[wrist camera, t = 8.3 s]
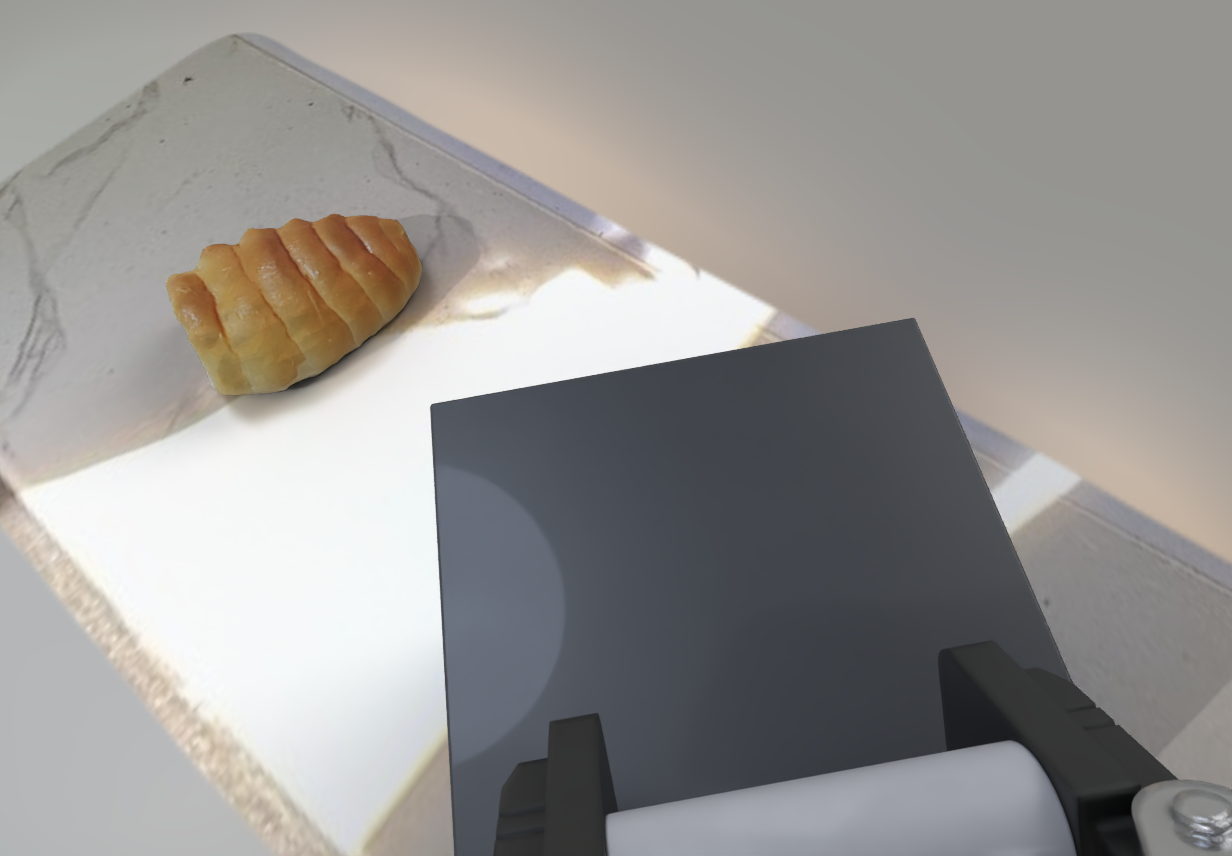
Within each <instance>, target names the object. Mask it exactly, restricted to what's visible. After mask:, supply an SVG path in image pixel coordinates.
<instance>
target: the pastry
mask: <svg viewBox="0 0 1232 856" xmlns="http://www.w3.org/2000/svg"><path fill="white" fill-rule="evenodd" d="M421 273H422V264H421V261H420V259H419V257H418V255H417V252H416V250H415V248H414V246H413V245H412V244H411V242H410V241H409V239H408V236H407V234H406V232H405V230H404V228H403V227H402V225H401V224H400V223H399V222H398V221H397V220H392V219H382V218H378V217H376V216H350V217H344V216H341V215H339V214H331V215H329V216H327V217H325V218H323V219H321V220H319V221H316V222H308V221H304V220H301V219H296V218H295V219H292V220H291V221H289V222H288V223H287V224H285V225H284V226H282V227H281V228H279V229H274V228H267V229H254V228H252V229H248V230H247V231H246V232H245V233H244V235H243V236H242V238H241V240H240V242H239V244H237V245H227V244H214V245H210V246H208V247H206V248H205V249H203V251H202V253H201V256H200V259H199V262H198V264H197V266H196V268H195V269H194V270H193V271H189V272H185V273H182V274H174V275H171V276H170V277H169V278H168V280H167V282H166V288H167V290H168V295H169V299H170V302H171V304H172V307H173V311H174V314H175V316H176V318H177V320H178V321H179V323H180V324H181V325H182V326H183V327H184V328H185V330H186V331H187V336H188V340H189V341H190V343H191V344H192V345H193V347H194V348H195V350H196V352H197V354H198V356H199V358H200V360H201V362H202V364H203V366H204V368H205V371H206V372H207V373H208V374H207V377H208V379H209V381H210V382H211V386H212V388H213V389H214V390H215V391H217V392H218V393H220V394H223V395H245V394H261V393H274V392H280V391H284V390H287V388H288V387H289V386H291V385H293V384H294V383H296V382H298V381H300V380H303V379H305V378H308V377H315V376H317V375H318V374H320V373H321V372H322V371H324V370H325V369H327V368H328V367H329V366H331V365H333V364H335V363H337V362H338V361H339V360H340V359H341V358H342V357H343V356H344V355H346V354H347V353H349V352H351V351H352V350H354V349H356V348H357V347H360V346H361V344H362V343H363V342H364V341H365V340H366V339H367V338H369V337H370V336H372V335H374V336H375V334H376V332H377V331H379V330H380V329H381V328H383V327H384V326H385V325H386V324H388V323H389V322H390V321H391V320H392V319H393V318H394V317H395V316H396V315H397V314H398V313H399V312H400V311H401V310H402V309H403V308H404V306H405V305H406V303H407V301H408V300H409V298H410V297H411V295H412V294H413V293H414V291H415V290H416V289H417V288H418V286H419V283H420V279H421Z"/></svg>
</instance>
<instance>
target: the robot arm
mask: <svg viewBox="0 0 1232 856" xmlns="http://www.w3.org/2000/svg"><path fill="white" fill-rule="evenodd" d="M938 668H939V678H940V689H941V699H942V709H943V719H944V729H945V740H946V747H947V751H953V750H958V749H964V748H969V747H974V746H980V745H985V744H991V743H996V742H1002V741H1008V740H1011V741H1015V742H1018V743H1020V744H1022V745H1023V746H1025V747H1026V748H1027V749H1028V750H1029V751H1030V752H1031V753H1032V754H1033V755H1034V757H1035V758H1036V759H1037V760H1038V762H1039V763H1040V765H1041V766H1042V768H1043V769H1044V771H1045V773H1046V774H1047V776H1048V778H1049V779H1050V781H1051V783H1052V785H1053V787H1054V789H1055V791H1056V793H1057V795H1058V797H1059V800H1060V802H1061V804H1062V807H1063V809H1064V812H1065V815H1066V817H1067V820H1068V823H1069V826H1070V829H1071V833H1072V836H1073V840H1074V844H1075V848H1076V853H1077V856H1232V789H1229V788H1226V787H1223V786H1220V785H1216V784H1212V783H1207V782H1202V781H1194V780H1178V779H1177V778H1176V777H1175V776H1174V775H1173V774H1172V773H1171V772H1170V771H1169V770H1167V769H1166V768H1165V767H1164V766H1163V765H1162V764H1161V763H1160V762H1159V761H1158V760H1157V759H1155V758H1154V757H1153V756H1152V755H1151V754H1150V753H1149V752H1148V751H1147V750H1146V749H1144V748H1143V747H1142V746H1141V745H1140V744H1139V743H1138V742H1137V741H1136V740H1135V739H1134V738H1132V737H1131V736H1130V735H1129V734H1128V733H1127V732H1126V731H1125V730H1124V729H1123V728H1121V727H1120V726H1119V725H1115V723H1114V720H1113V719H1112V718H1110V717H1109V716H1108V715H1107V714H1106V713H1105V712H1104V711H1103V710H1102V709H1101V708H1100V707H1099V708H1096V706H1095V703H1094V702H1093V701H1092V700H1091V699H1090V698H1089V697H1087V696H1086V695H1085V694H1084V693H1083V692H1082V691H1081V690H1080V689H1079V688H1078V687H1077V686H1075V685H1074V684H1073V683H1072V682H1070V681H1068V680H1066V679H1063V678H1061V677H1059V676H1057V675H1055V674H1052V673H1050V672H1048V671H1046V670H1044V669H1041V668H1039V667H1036V668H1031V669H1025V670H1023V669H1022V668H1021V667H1020V666H1019V665H1018V664H1017V663H1016V662H1015V661H1014V660H1013V659H1012V658H1011V657H1010V656H1009V655H1008V654H1007V653H1006V652H1005V651H1004V650H1003V649H1002V648H1001V647H1000V646H999V645H998V644H997V643H996V642H994V641H991V640H989V641H984V642H978V643H973V644H967V645H962V646H956V647H951V648H945V649H942V650H941V651H940V652H939V657H938ZM616 812H618V807H617V801H616V796H615V791H614V786H613V781H612V776H611V771H610V766H609V761H608V756H607V751H606V745H605V740H604V735H603V730H602V725H601V721H600V717H599V714H598V713H593V714H588V715H582V716H577V717H572V718H566V719H561V720H555V721H550V723H549V738H548V758H543V759H537V760H532V761H526V762H521V763H518V765H517V766H516V768H515V769H514V770H513V772H512V773H511V775H510V776H509V778H508V779H507V781H506V782H505V784H504V785H503V787H502V789H501V797H500V805H499V813H498V814H499V819H498V821H497V829H496V840H495V845H494V853H493V856H607V855H606V845H605V828H604V823H605V816H607V815H608V814H610V813H616Z"/></svg>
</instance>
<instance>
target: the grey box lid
mask: <svg viewBox="0 0 1232 856" xmlns="http://www.w3.org/2000/svg"><path fill="white" fill-rule="evenodd" d="M430 413H431V431H432V450H433V468H434V487H435V505H436V524H437V543H438V561H439V580H440V598H441V617H442V635H443V654H444V672H445V691H446V709H447V728H448V746H449V765H450V784H451V802H452V821H453V839H454V856H493V853H494V845H495V840H496V829H497V821H498V819H499V814H498V813H499V805H500V797H501V789H502V787H503V785H504V784H505V782H506V781H507V779H508V778H509V776H510V775H511V773H512V772H513V770H514V769H515V768H516V766H517V765H518V763H521V762H526V761H532V760H537V759H543V758H548V738H549V723H550V721H555V720H561V719H566V718H572V717H577V716H582V715H588V714H593V713H598V714H599V717H600V721H601V725H602V730H603V735H604V740H605V745H606V751H607V756H608V761H609V766H610V771H611V776H612V781H613V786H614V791H615V796H616V801H617V807H618V812H616V813H610V814H608V815H607V816H605V823H604V828H605V845H606V855H607V856H1077V853H1076V848H1075V844H1074V840H1073V836H1072V833H1071V829H1070V826H1069V823H1068V820H1067V817H1066V815H1065V812H1064V809H1063V807H1062V804H1061V802H1060V800H1059V797H1058V795H1057V793H1056V791H1055V789H1054V787H1053V785H1052V783H1051V781H1050V779H1049V778H1048V776H1047V774H1046V773H1045V771H1044V769H1043V768H1042V766H1041V765H1040V763H1039V762H1038V760H1037V759H1036V758H1035V757H1034V755H1033V754H1032V753H1031V752H1030V751H1029V750H1028V749H1027V748H1026V747H1025V746H1023V745H1022V744H1020V743H1018V742H1015V741H1011V740H1008V741H1002V742H996V743H991V744H985V745H980V746H974V747H969V748H964V749H958V750H953V751H947V747H946V740H945V729H944V719H943V709H942V699H941V689H940V678H939V668H938V657H939V652H940V651H941V650H942V649H945V648H951V647H956V646H962V645H967V644H973V643H978V642H984V641H989V640H991V641H994V642H996V643H997V644H998V645H999V646H1000V647H1001V648H1002V649H1003V650H1004V651H1005V652H1006V653H1007V654H1008V655H1009V656H1010V657H1011V658H1012V659H1013V660H1014V661H1015V662H1016V663H1017V664H1018V665H1019V666H1020V667H1021V668H1022V669H1023V670H1025V669H1031V668H1036V667H1039V668H1041V669H1044V670H1046V671H1048V672H1050V673H1052V674H1055V675H1057V676H1059V677H1061V678H1063V679H1066V680H1068V681H1070V682H1072V680H1071V678H1070V675H1069V673H1068V671H1067V668H1066V666H1065V664H1064V662H1063V659H1062V657H1061V655H1060V652H1059V650H1058V648H1057V645H1056V643H1055V641H1054V638H1053V636H1052V634H1051V632H1050V629H1049V627H1048V625H1047V622H1046V620H1045V618H1044V615H1043V613H1042V611H1041V608H1040V606H1039V604H1038V601H1037V599H1036V597H1035V595H1034V592H1033V590H1032V588H1031V585H1030V583H1029V581H1028V578H1027V576H1026V574H1025V571H1024V569H1023V567H1022V565H1021V562H1020V560H1019V558H1018V555H1017V553H1016V551H1015V548H1014V546H1013V544H1012V541H1011V539H1010V537H1009V535H1008V532H1007V530H1006V528H1005V525H1004V523H1003V521H1002V518H1001V516H1000V514H999V511H998V509H997V507H996V505H995V502H994V500H993V498H992V495H991V493H990V491H989V488H988V486H987V484H986V481H985V479H984V477H983V474H982V472H981V470H980V468H979V465H978V463H977V461H976V458H975V456H974V454H973V451H972V449H971V447H970V444H969V442H968V440H967V438H966V435H965V433H964V431H963V428H962V426H961V424H960V421H959V419H958V417H957V414H956V412H955V410H954V408H953V405H952V403H951V401H950V398H949V396H948V394H947V391H946V389H945V387H944V385H943V382H942V380H941V378H940V375H939V373H938V371H937V368H936V366H935V364H934V361H933V359H932V357H931V355H930V352H929V350H928V348H927V345H926V343H925V341H924V338H923V336H922V334H921V331H920V329H919V327H918V324H917V322H916V320H915V319H914V318H910V319H904V320H899V321H893V322H887V323H882V324H876V325H871V326H865V327H859V328H854V329H848V330H843V331H838V332H832V333H826V334H820V335H815V336H809V337H804V338H798V339H793V340H787V341H781V342H776V343H770V344H765V345H759V346H753V347H748V348H742V349H737V350H731V351H726V352H720V353H714V354H709V355H703V356H698V357H692V358H686V359H681V360H675V361H670V362H664V363H659V364H653V365H647V366H642V367H636V368H631V369H625V370H620V371H614V372H608V373H603V374H597V375H592V376H586V377H580V378H575V379H569V380H564V381H558V382H553V383H547V384H541V385H536V386H530V387H525V388H519V389H514V390H508V391H502V392H497V393H491V394H486V395H480V396H474V397H469V398H463V399H458V400H452V401H447V402H441V403H435V404H432V405H431V407H430ZM1072 683H1073V682H1072Z"/></svg>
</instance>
